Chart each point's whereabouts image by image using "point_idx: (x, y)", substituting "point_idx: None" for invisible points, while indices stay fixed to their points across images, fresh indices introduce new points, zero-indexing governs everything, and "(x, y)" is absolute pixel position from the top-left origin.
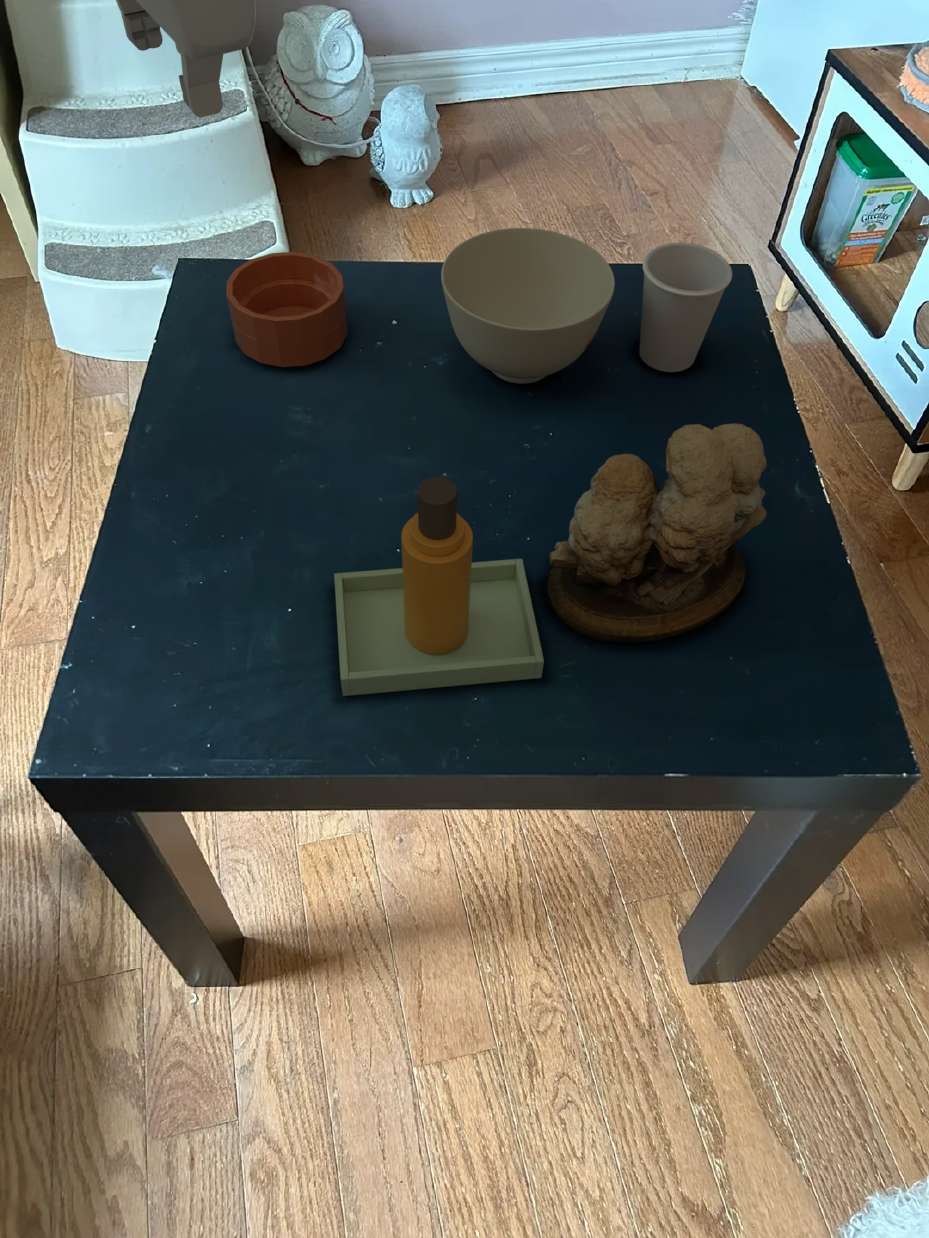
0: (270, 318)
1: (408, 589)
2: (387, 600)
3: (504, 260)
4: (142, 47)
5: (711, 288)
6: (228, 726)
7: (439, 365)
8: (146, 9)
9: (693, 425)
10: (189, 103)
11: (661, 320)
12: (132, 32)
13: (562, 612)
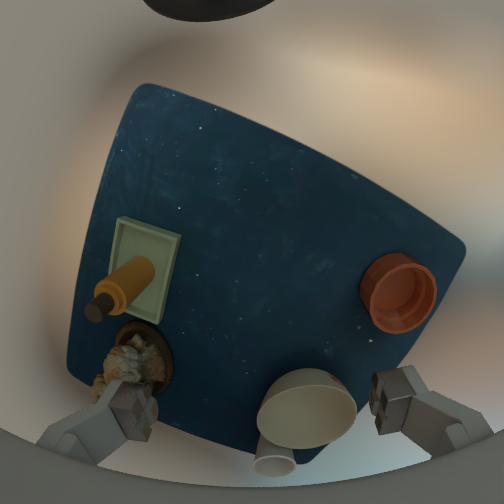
0: (380, 281)
1: (118, 269)
2: (164, 256)
3: (345, 411)
4: (372, 380)
5: (272, 464)
6: (127, 160)
7: (324, 349)
8: (89, 472)
9: None
10: (115, 387)
11: (266, 443)
12: (382, 388)
13: (132, 323)
